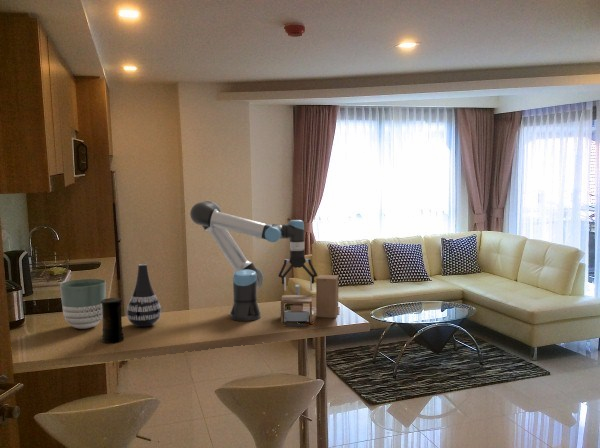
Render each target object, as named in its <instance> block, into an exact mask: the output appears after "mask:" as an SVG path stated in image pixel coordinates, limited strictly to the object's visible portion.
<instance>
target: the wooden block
mask: <svg viewBox="0 0 600 448" xmlns="http://www.w3.org/2000/svg"><path fill="white" fill-rule="evenodd" d="M315 278H316V281H315V282H316V283H315V284H316V285H315V291H316V293H315V297H316V300H315V304H316V305H315V307H316V312H315V313H316V314H315V316H316V318H322V319H323V318H327V319H336V318H337V316H338V314H339V275H336V274H335V275H333V274H331V275H330V274H319V275H317V276H316V277H315Z"/></svg>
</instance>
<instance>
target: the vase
mask: <svg viewBox="0 0 600 448" xmlns="http://www.w3.org/2000/svg"><path fill="white" fill-rule="evenodd" d="M135 282H136V283H135V285H134V289H133V291H132V295H131V297H130V299H129V301H128V304H127V307H126V317H127V320H128V321H129V322H130V323H131V325H133V326H135V327H137V328H140V329H141V328H143V329H144V328H149V327H152V326H153V325H154V324H156V323H157V322H158V321H159V319H160V317H161V315H162V307H161V303H160V301H159V299H158V297H157V295H156V294H155V291H154V288H153V286H152V284H151V283H152V282H151V280H150V275H149V271H148V265H147V264H145V263H139V264H138V266H137V276H136V281H135Z"/></svg>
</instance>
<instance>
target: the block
mask: <svg viewBox="0 0 600 448" xmlns="http://www.w3.org/2000/svg"><path fill="white" fill-rule="evenodd" d="M290 311H291V312H303V311H304V304H290Z"/></svg>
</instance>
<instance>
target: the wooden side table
mask: <svg viewBox="0 0 600 448" xmlns="http://www.w3.org/2000/svg"><path fill="white" fill-rule="evenodd" d="M286 304H290V305H291V304H303V305H305V304H309V323H310V324H312V323H313V315H312V310H313V307H312V306H313V295H312V294H299V295H296V294H282V296H281V299H280V323H281V324H283V323H284V312H285V305H286Z"/></svg>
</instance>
